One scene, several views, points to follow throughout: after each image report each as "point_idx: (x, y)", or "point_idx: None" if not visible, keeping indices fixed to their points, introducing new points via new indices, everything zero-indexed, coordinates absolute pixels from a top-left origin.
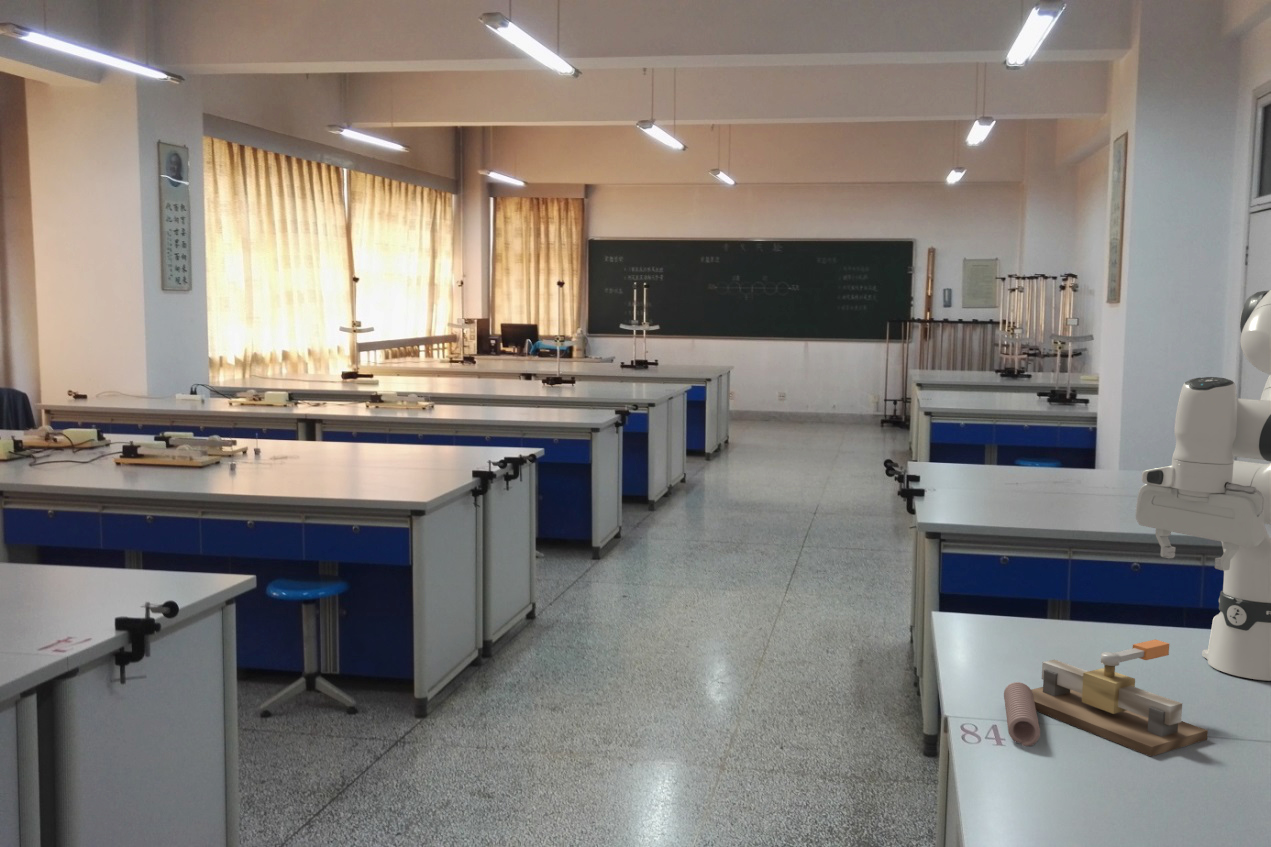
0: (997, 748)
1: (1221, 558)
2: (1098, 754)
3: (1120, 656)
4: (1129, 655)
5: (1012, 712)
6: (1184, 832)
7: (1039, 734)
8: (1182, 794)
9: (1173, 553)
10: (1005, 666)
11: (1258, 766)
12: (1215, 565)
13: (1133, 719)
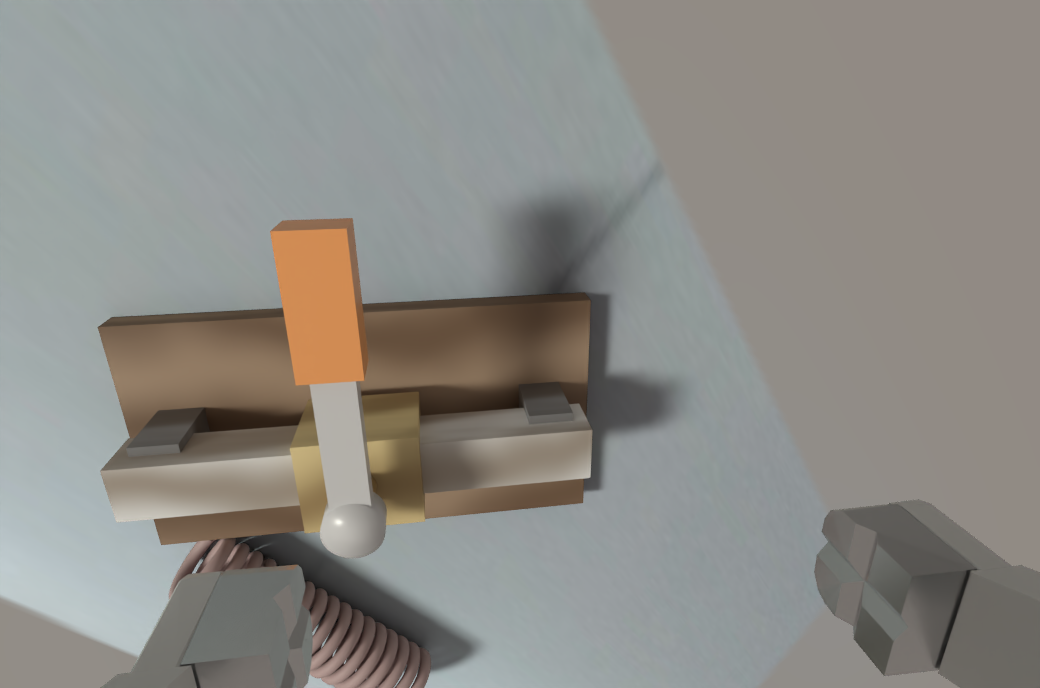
0: None
1: (958, 677)
2: (514, 568)
3: (371, 503)
4: (365, 456)
5: None
6: (776, 650)
7: (430, 662)
8: (709, 563)
9: (286, 608)
10: None
11: (735, 328)
12: (841, 612)
13: (446, 410)
